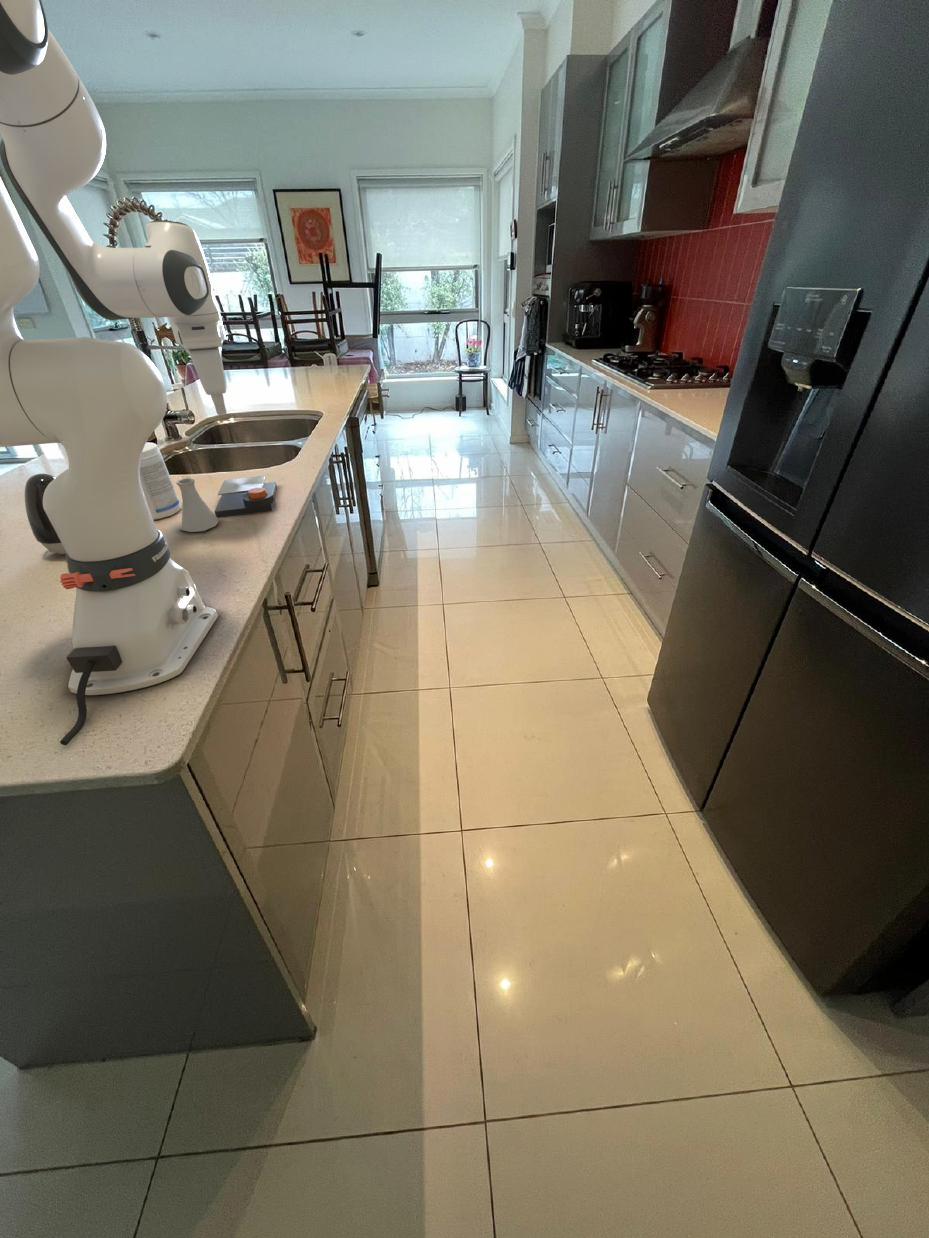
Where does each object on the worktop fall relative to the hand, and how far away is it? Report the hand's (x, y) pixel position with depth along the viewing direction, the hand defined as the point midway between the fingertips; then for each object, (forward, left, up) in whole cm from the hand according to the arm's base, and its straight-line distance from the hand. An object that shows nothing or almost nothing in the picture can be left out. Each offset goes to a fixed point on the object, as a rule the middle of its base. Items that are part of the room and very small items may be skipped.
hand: (220, 407), depth 105 cm
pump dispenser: (-10, +32, -22) cm, 41 cm away
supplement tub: (+5, +20, -22) cm, 31 cm away
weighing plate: (+8, +2, -19) cm, 21 cm away
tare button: (+1, -3, -20) cm, 20 cm away
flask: (-6, +9, -22) cm, 25 cm away
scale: (+6, +1, -22) cm, 23 cm away
